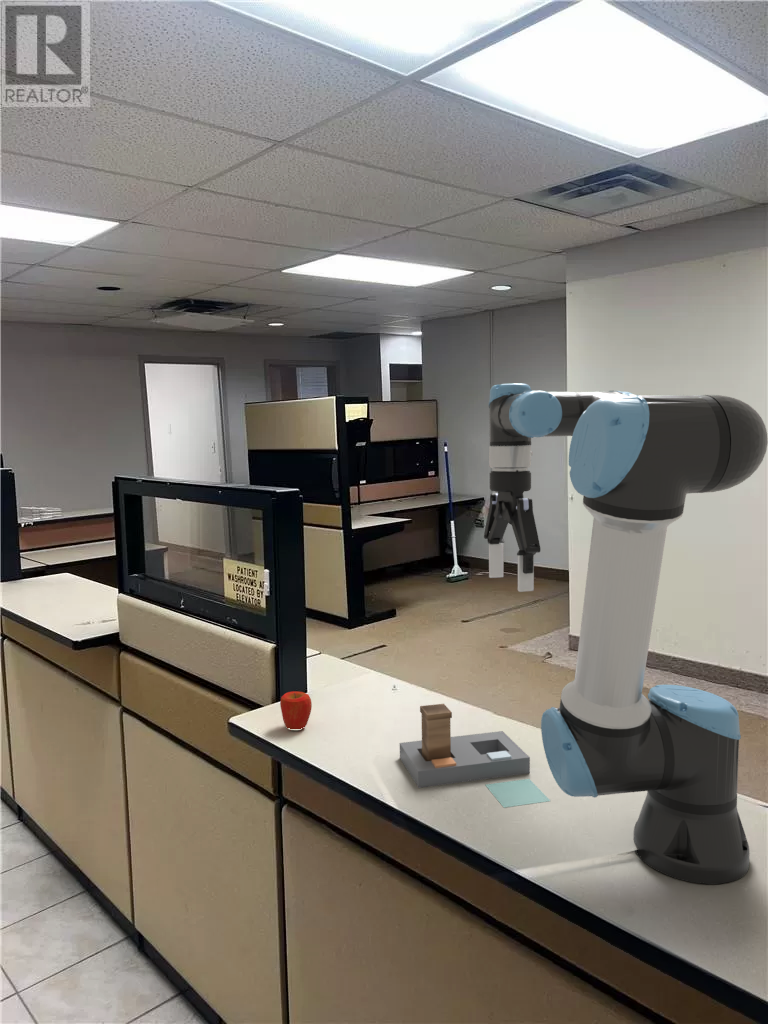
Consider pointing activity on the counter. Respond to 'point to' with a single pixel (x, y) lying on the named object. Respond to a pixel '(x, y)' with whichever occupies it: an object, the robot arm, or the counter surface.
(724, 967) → the counter surface
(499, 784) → the plate
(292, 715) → the apple
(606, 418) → the robot arm
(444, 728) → the plug
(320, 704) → the counter surface
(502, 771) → the port box
